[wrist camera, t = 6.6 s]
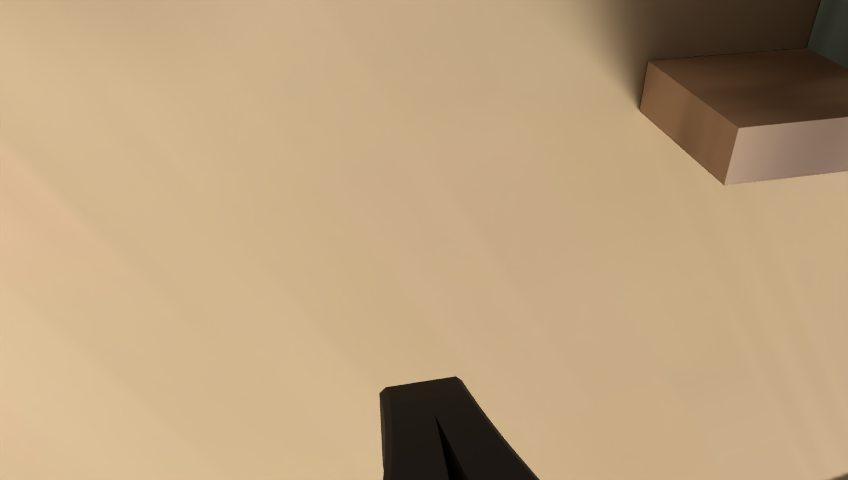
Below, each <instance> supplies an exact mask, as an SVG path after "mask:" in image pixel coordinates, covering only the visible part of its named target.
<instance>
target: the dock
mask: <svg viewBox="0 0 848 480" xmlns="http://www.w3.org/2000/svg"><path fill="white" fill-rule="evenodd" d="M640 112H641V113H642V114H644V115H645V116H646V117H647V118H648V119H649V120H650V121H651V122H653V123H654V124H655V125H656V126H657V127H658V128H659V129H661V130H662V131H663V132H664V133H665V134H666V135H667V136H669V137H670V138H671V139H672V140H673V141H674V142H675V143H676V144H678V145H679V146H680V147H681V148H682V149H683V150H684V151H686V152H687V153H688V154H689V155H690V156H691V157H692V158H694V159H695V160H696V161H697V162H698V163H699V164H700V165H701V166H703V167H704V168H705V169H706V170H707V171H708V172H709V173H711V174H712V175H713V176H714V177H715V178H716V179H717V180H719V181H720V182H721V183H722V184H723V185H732V184H740V183H749V182H757V181H766V180H775V179H783V178H792V177H800V176H809V175H818V174H826V173H835V172H843V171H848V0H821V2H820V5H819V8H818V12H817V15H816V19H815V22H814V26H813V29H812V32H811V36H810V39H809V43H808V46H807V48H801V49H789V50H776V51H764V52H752V53H740V54H727V55H715V56H703V57H690V58H678V59H666V60H654V61H648V65H647V71H646V77H645V82H644V88H643V94H642V100H641V105H640Z"/></svg>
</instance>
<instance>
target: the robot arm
mask: <svg viewBox="0 0 848 480" xmlns="http://www.w3.org/2000/svg"><path fill="white" fill-rule="evenodd" d="M380 413H381V434H382V455H383V468H384V476H383V480H539V479H538V477H537V476H536V475H535V474H534V473H533V472H532V471H531V469H530V468H529V467H528V466H527V465H526V464H525V463H524V461H523V460H522V459H521V458H520V457H519V456H518V454H517V453H516V452H515V451H514V450H513V449H512V447H511V446H510V445H509V444H508V443H507V441H506V440H505V439H504V438H503V436H502V435H501V434H500V433H499V431H498V430H497V429H496V427H495V426H494V425H493V424H492V422H491V421H490V420H489V418H488V417H487V416H486V414H485V413H484V412H483V410H482V409H481V408H480V406H479V405H478V404H477V402H476V401H475V399H474V398H473V396H472V395H471V394H470V392H469V391H468V389H467V388H466V386H465V385H464V383H463V382H462V380H460V379H459V378H457V377H449V378H443V379H436V380H430V381H424V382H417V383H411V384H404V385H398V386H392V387H386V388H385V389H384V390H383V391H382V392H380Z"/></svg>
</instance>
